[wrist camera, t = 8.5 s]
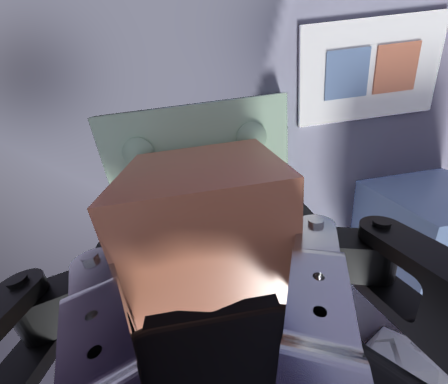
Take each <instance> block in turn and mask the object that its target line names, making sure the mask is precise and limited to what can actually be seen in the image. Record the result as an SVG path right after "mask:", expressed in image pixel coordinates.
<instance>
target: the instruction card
mask: <svg viewBox="0 0 448 384" xmlns="http://www.w3.org/2000/svg"><path fill="white" fill-rule="evenodd" d="M447 28H448V9H439V10H430V11H421V12H412V13H403V14H394V15H385V16H376V17H367V18H358V19H349V20H340V21H331V22H322V23H313V24H304V25H300V26H299V70H298V127H299V128H301V127H308V126H316V125H323V124H331V123H338V122H345V121H353V120H360V119H368V118H375V117H382V116H390V115H397V114H404V113H412V112H419V111H427V110H430V107H431V102H432V98H433V93H434V88H435V84H436V79H437V74H438V70H439V65H440V60H441V56H442V51H443V47H444V42H445V37H446V33H447Z"/></svg>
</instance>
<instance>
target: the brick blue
mask: <svg viewBox="0 0 448 384" xmlns="http://www.w3.org/2000/svg"><path fill="white" fill-rule="evenodd" d="M366 216H384V217H389V218H392V219H394V220H397V221H399V222H401V223H403V224H405V225H407V226H409V227H410V228H412V229H414V230H416V231H418V232H420V233H422V234H424V235H426V236H428V237H430V238H432V239H434V240H436V241H438V242H440V243H442V244H444V245H446V246H448V170H445V169H442V168H439V169H432V170H425V171H418V172H411V173H405V174H398V175H391V176H384V177H377V178H370V179H364V180H357V181H356V186H355V195H354V203H353V212H352V221H351V228H359V221H360V219H362V218H363V217H366ZM396 276H397V277H398V278H400V279H401V280H402V281H404V282H405V283H407V284H408V285H409V286H411V287H412V288H413V289H415V290H416V291H417V292H419V293H420V294H421V295H422V294H423V291H422V287H421V285H420V283H419V282H418V281H417V280H416V279H415V278H414V277H413V276H412V275H410V274H409V273H407V272H406V271H404V270H403V269H401V268H400V267H399V266H398V267H397V272H396Z"/></svg>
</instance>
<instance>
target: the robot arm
mask: <svg viewBox="0 0 448 384" xmlns="http://www.w3.org/2000/svg"><path fill="white" fill-rule="evenodd" d="M398 266H399V267H400V268H401V269H403V270H404V271H406V272H407V273H409V274H410V275H412V276H413V277H414V278H415V279H416V280H417V281H418V282H419V283H420V285H421V287H422V291H423V294H422V295H421V294H420V293H419V292H417V291H416V290H415V289H413V288H412V287H411V286H409V285H408V284H407V283H405V282H404V281H402V280H401V279H400V278H398V277H397V276H396V272H397V267H398ZM351 284H353V285H354V287H355V288H356V289H357V290H358V291H359V292H360V293H361V294H362V295H363V296H364V297H365V298H367V299H368V300H369V301H370V302H371V303H372V304H373V305H374V306H375V307H376V308H377V309H378V310H379V311H380V312H381V313H382V314H383V315H385V316H386V317H387V318H388V319H389V320H390V321H391V322H392V323H393V324H394V325H395V326H396V327H397V328H398V329H399V330H400V331H401V332H402V333H404V334H405V335H406V336H407V337H408V338H409V339H410V340H411V341H412V342H413V343H414V344H415V345H416V346H417V347H418V348H419V349H420V350H422V351H423V352H424V353H425V354H426V355H427V356H428V357H429V358H430V359H431V360H432V361H433V362H434V363H435V364H436V365H437V366H438V367H440V368H441V369H442V370H443V371H444V372H445V373H446V374H447V375H448V246H446V245H444V244H442V243H440V242H438V241H436V240H434V239H432V238H430V237H428V236H426V235H424V234H422V233H420V232H418V231H416V230H414V229H412V228H410V227H409V226H407V225H405V224H403V223H401V222H399V221H397V220H394V219H392V218H389V217H384V216H366V217H363V218H362V219H360V221H359V228H343V227H336V224H335V222H334V221H333V220H332V219H330V218H328V217H326V216H322V215H314V214H313V213H312V212H311V211H310V209H309V208H308V207H307V206H306V205H304V203H303V233H300V234H296V235H295V245H294V247H293V249H292V258H291V266H290V275H289V284H288V293H287V302H286V304H280V303H279V301H278V298H277V296H276V294H270V295H264V296H258V297H253V298H247V299H243V300H240V301H238V302H236V303H233V304H231V305H228V306H226V307H223V308H221V309H218V310H216V311H213V312H198V311H179V310H178V311H172V312H166V313H160V314H154V315H149V316H145V319H144V323H143V328H141V329H139V330H138V329H137V326H136V322H135V319H134V316H133V313H132V311H131V310H129V309H128V306H127V303H126V300H125V297H124V294H123V291H122V287H121V283H120V279H119V276H118V273H117V270H116V267H115V265H114V263H112V264H108V263H107V260H106V257H105V255H104V252H103V249H102V247H101V244H100V242H99V243H98V244H97V246H96V248H94V249H91V250H88V251H86V252H84V253H82V254H80V255H78V256H77V257H76V258H75V259H74V260H73V261H72V262H71V263H70V265H69V271H66V272H63V273H60V274H57V275H55V276H52V277H49V278H46V276H45V274H44V272H43V271H42V270H41V269H38V268H36V269H35V268H34V269H29V270H25V271H22V272H19V273H17V274H15V275H13V276H11V277H9V278H7V279H6V280H4V281H3V282H1V283H0V341H1V340H2V339H3V338H4V337H5V336H6V334H7V333H8V332H9V331H10V330H11V329H12V328H14V330H15V331H16V333H17V334H18V336H19V337H20V339H21V340H20V341H19V342H18V344H17V345H16V346H15V347H14V349H12V351H11V352H10V353H9V354H8V356H7V357H6V358H5V359H4V360H3V361H2V362H1V364H0V384H39V383H40V382H41V380H42V379H43V377H44V376H45V374H46V373H47V371H48V370H49V368H50V367H51V365H52V364H53V362H54V361H55V373H54V384H427V383H426V382H424V381H423V380H421V379H419V378H418V377H416V376H415V375H413V374H411V373H410V372H408V371H407V370H405V369H403V368H402V367H400V366H399V365H397V364H395V363H394V362H392V361H391V360H389V359H387V358H386V357H384V356H383V355H381V354H379V353H378V352H376V351H375V350H373V349H371V348H370V347H368V346H367V345H365V344H363V343H362V342H361V337H360V332H359V327H358V321H357V316H356V311H355V305H354V300H353V294H352V289H351Z"/></svg>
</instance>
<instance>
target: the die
mask: <svg viewBox="0 0 448 384" xmlns="http://www.w3.org/2000/svg"><path fill="white" fill-rule="evenodd" d="M365 345H367V346H368V347H370V348H371V349H373V350H375V351H376V352H378V353H379V354H381V355H383V356H384V357H386V358H387V359H389V360H391V361H392V362H394V363H395V364H397V365H399V366H400V367H402V368H403V369H405V370H407V371H408V372H410V373H411V374H413V375H415V376H416V377H418V378H419V379H421V380H423V381H424V382H426V383H427V384H448V375H447V374H446V373H445V372H444V371H443V370H442V369H441V368H440V367H438V366H437V365H436V364H435V363H434V362H433V361H432V360H431V359H430V358H429V357H428V356H427V355H426V354H425V353H424V352H423V351H422V350H420V349H419V348H418V347H417V346H416V345H415V344H414V343H413V342H412V341H411V340H410V339H409V338H408V337H407V336H405V335H403V334H400V333H398V332H396V331H393V330H391V329H389V328H386V327H384V326H383V327H382V328H381V329H380V330H379V331H378V332H377V333H376V334H375V335H374V336H373V337H372V338H371V339H370V340H369V341H368V342H367V343H366V344H365Z"/></svg>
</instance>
